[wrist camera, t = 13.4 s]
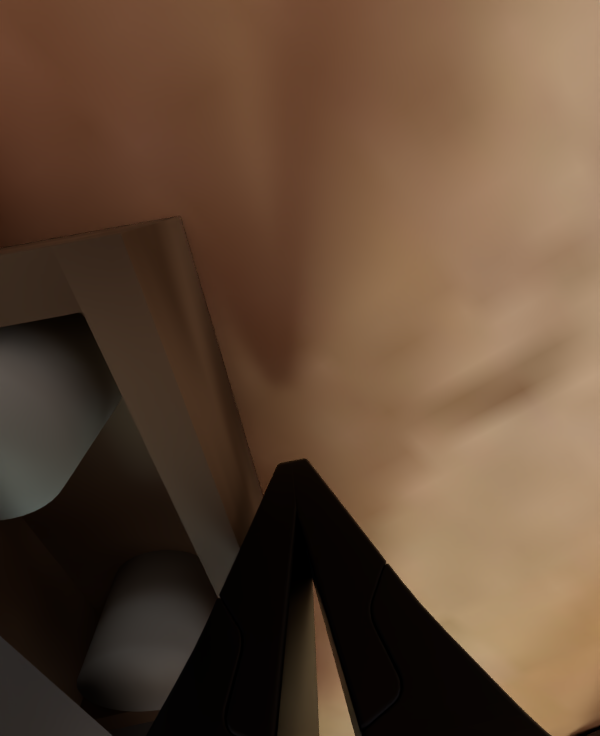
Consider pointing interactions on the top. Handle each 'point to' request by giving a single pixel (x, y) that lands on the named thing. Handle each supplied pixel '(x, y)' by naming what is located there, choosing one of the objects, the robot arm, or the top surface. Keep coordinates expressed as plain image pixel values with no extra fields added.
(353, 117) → the top surface
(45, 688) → the grey shelf
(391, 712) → the robot arm
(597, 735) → the mortar and pestle
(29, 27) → the top surface
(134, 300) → the walnut tray
